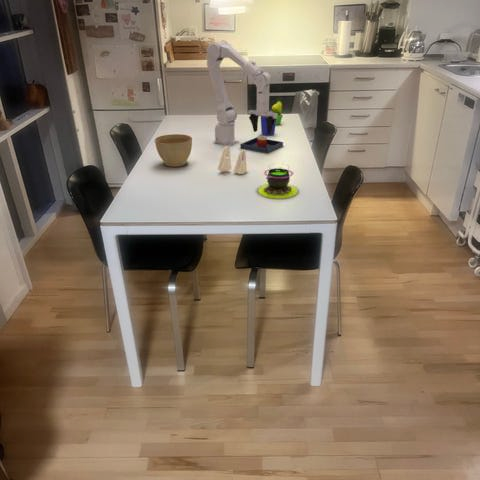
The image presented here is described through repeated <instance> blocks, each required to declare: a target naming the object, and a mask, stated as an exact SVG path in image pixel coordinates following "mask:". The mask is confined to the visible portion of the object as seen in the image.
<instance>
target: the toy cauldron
mask: <svg viewBox="0 0 480 480" xmlns="http://www.w3.org/2000/svg"><path fill="white" fill-rule="evenodd" d="M272 165H273V164H272V163H271V164H270V165H268V166H267V167H268V169H266V170H264V171H263V175H264V176H266V177H265V179H266V181H267V184H264V185H262V186H260V187H259V188H258V193H259V195H260V196H263V197H265V198H269V199H275V200H276V199H277V200H278V199H282V200H283V199H289V198H292V197H295V196H296V195H297V194H298V189H297V188H296V187H294V186H292V185H289V183H290V181H291V180H290V179H291V177H292V176H294V174H295V173H294V171H292V170H290V167H289V164H286V166H288V168H283V167H282V166H280V167H279V168H278V167H274V168H271V167H270V166H272ZM282 165H285V162H283V163H282Z"/></svg>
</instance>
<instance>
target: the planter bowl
mask: <svg viewBox="0 0 480 480" xmlns="http://www.w3.org/2000/svg"><path fill="white" fill-rule="evenodd" d="M154 143H155V148H156V151H157V155H159V157H160V159H161V160H162V161H163V163H164V165H165V166H166V167H171V168H174V167H176V168H177V167H183V166H185V165H186V164H187V160H188V159H189V158H190V156H191V152H192V147H193V137H192V136H191V135H188V134H183V133H182V134H181V133H175V134H174V133H172V134H163V135H159V136H157V137H155V138H154Z"/></svg>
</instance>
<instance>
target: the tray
mask: <svg viewBox="0 0 480 480" xmlns="http://www.w3.org/2000/svg"><path fill="white" fill-rule="evenodd" d="M239 145H240V146H239V147H240V150H245V151H252V152H255V153H256V152H258V153H262V154H271V153H272V152H275V151H276V150H278V149H281V148H283V147H284V141H279V140H275V139H268V138H267V147H266V148H261V147H257V136H256V137H254V138H251V139H249V140H247V141H244V142H241V143H240V144H239Z"/></svg>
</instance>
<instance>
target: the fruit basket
mask: <svg viewBox="0 0 480 480" xmlns="http://www.w3.org/2000/svg"><path fill="white" fill-rule="evenodd" d="M282 108H283V104H282V101H279V100H278V101H277V102H276V103H274V104H273V105H272V106H271V110H269V112H273V113H277V118H276V125H275V126H280V125H281V122H282V118H283V114H282V110H283V109H282Z"/></svg>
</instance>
